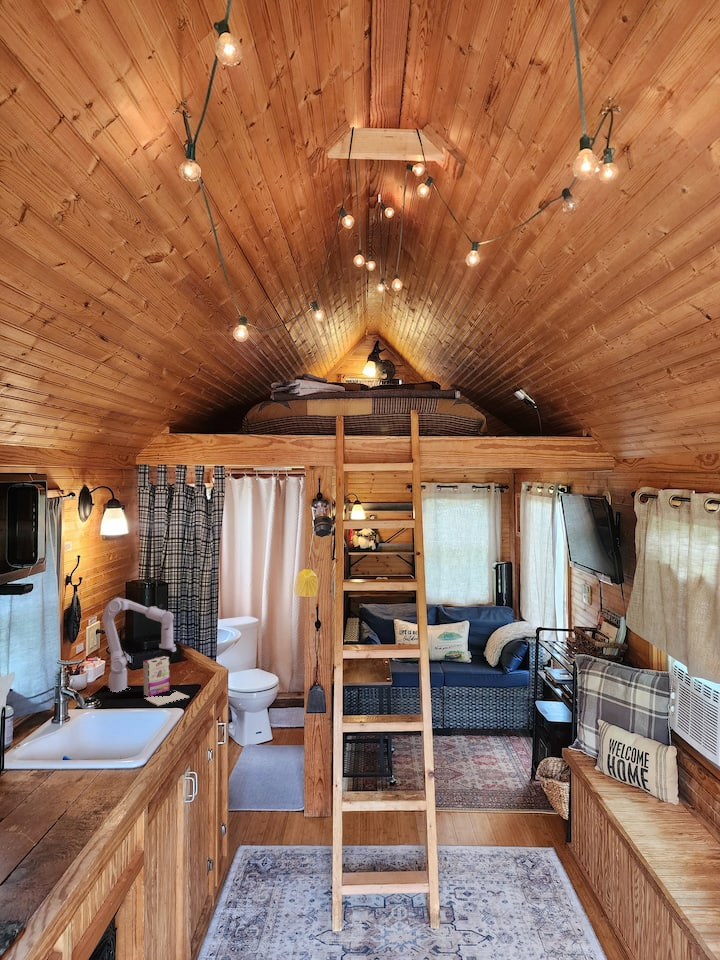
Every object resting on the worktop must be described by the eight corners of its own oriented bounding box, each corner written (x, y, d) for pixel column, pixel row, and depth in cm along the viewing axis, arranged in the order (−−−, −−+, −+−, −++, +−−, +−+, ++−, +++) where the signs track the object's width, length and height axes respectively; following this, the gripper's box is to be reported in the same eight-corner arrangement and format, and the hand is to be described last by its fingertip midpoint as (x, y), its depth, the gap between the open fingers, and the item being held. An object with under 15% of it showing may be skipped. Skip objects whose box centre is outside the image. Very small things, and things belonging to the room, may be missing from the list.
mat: (144, 699, 261) (144, 698, 261) (174, 691, 272) (174, 690, 272) (157, 705, 251) (157, 704, 251) (189, 697, 262) (189, 696, 262)
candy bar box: (164, 690, 275) (164, 655, 276) (170, 692, 272) (170, 656, 273) (142, 696, 266) (142, 660, 267) (148, 698, 263) (148, 661, 264)
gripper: (181, 637, 282) (182, 665, 282) (168, 633, 293) (168, 660, 292) (168, 639, 278) (168, 668, 277) (155, 635, 288) (155, 663, 287)
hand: (167, 664), depth 284 cm, fingers closed
